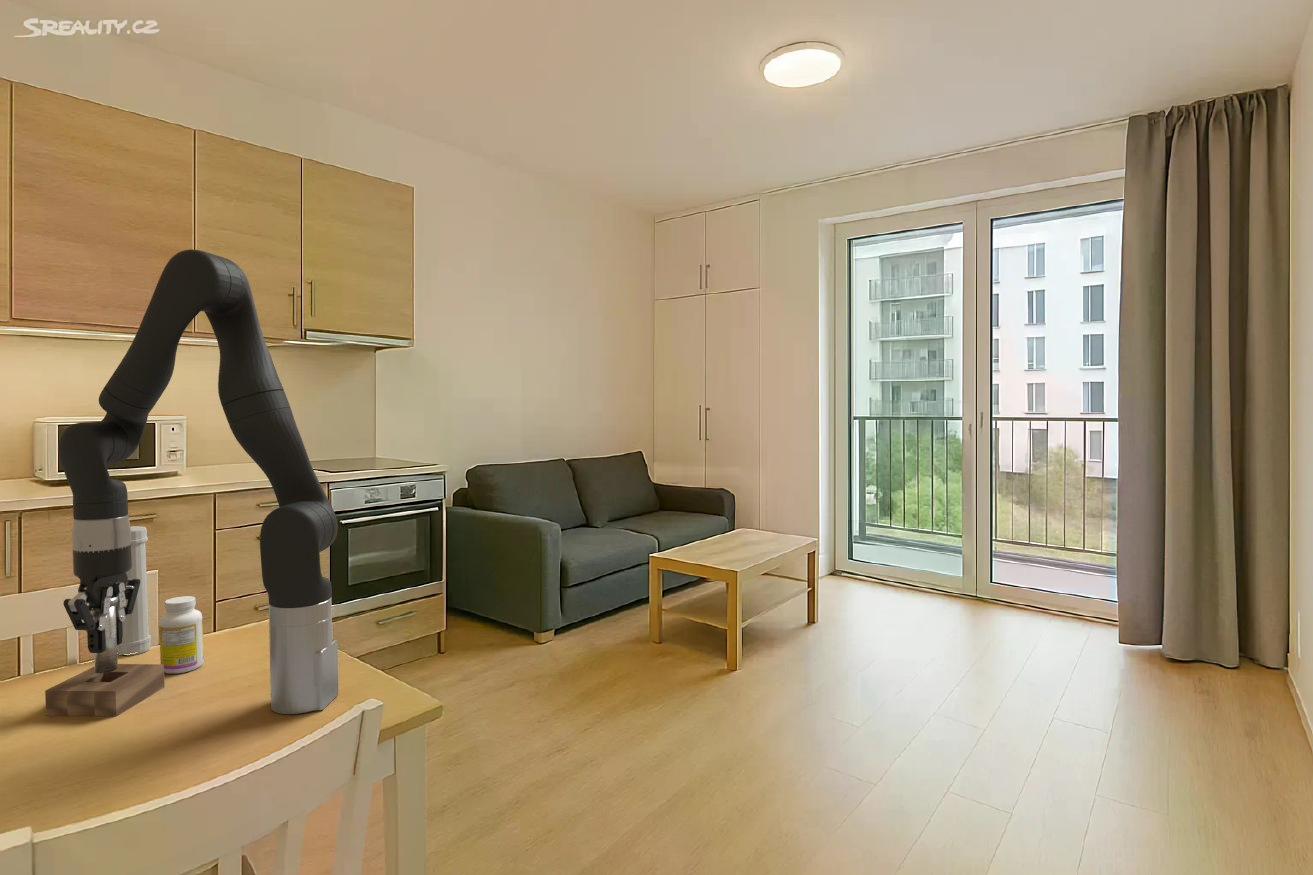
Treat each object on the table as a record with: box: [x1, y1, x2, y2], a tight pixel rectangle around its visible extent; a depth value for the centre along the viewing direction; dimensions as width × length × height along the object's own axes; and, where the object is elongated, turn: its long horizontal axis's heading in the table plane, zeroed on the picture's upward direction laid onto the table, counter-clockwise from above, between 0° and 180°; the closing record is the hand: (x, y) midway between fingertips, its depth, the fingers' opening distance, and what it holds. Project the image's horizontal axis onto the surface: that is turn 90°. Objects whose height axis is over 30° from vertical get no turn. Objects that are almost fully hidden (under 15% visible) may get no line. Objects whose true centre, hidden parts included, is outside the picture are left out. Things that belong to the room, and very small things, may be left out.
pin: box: [92, 596, 119, 673], centre depth 116 cm, size 4×4×12 cm
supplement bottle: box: [158, 595, 205, 675], centre depth 131 cm, size 7×7×13 cm
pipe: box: [117, 521, 152, 657], centre depth 138 cm, size 6×6×30 cm
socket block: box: [44, 663, 165, 717], centre depth 117 cm, size 11×11×4 cm
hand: (106, 647), depth 117 cm, fingers closed on pin, 3 cm apart
